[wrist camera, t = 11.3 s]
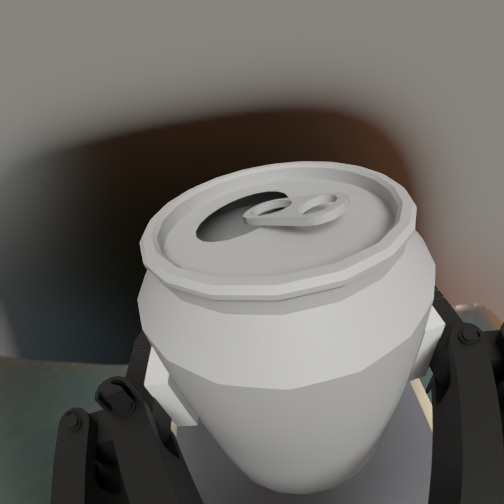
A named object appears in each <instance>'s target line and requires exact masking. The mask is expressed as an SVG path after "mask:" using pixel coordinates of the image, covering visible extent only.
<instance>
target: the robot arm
mask: <svg viewBox="0 0 504 504" xmlns="http://www.w3.org/2000/svg"><path fill="white" fill-rule="evenodd" d="M130 359H131V361H130V362H129V366H128V370H127V374H126V378H124V377H120V376H116V377H111V378H109V379H107V380H105V381H104V382H103V383H102V384H101V385H100V386H99V387H98V389H97V391H96V393H95V401H96V402H97V403H98V404H99V405H100V406H101V407H102V408H103V409H104V410H101V411H98V412H94V413H91V414H88V413H87V412H86V411H85V410H83V409H82V408H72V409H70V410H68V411H67V412H65V414H64V415H63V416H62V418H61V420H60V423H59V429H58V436H57V442H56V450H55V458H54V467H53V478H52V493H51V504H129V503H130V504H204V502H203V500H202V498H201V496H200V494H199V492H198V490H197V487H196V485H195V483H194V481H193V479H192V476H191V474H190V472H189V469H188V467H187V465H186V462H185V460H184V457H183V455H182V452H181V450H180V447H179V445H178V442H177V440H176V437H175V435H174V433H173V432H172V430H171V421H173V422H174V423H175V424H176V425H177V426H195V425H198V416H197V414H196V413H195V412H194V410H193V409H192V407H191V406H190V404H189V403H188V402H187V400H186V399H185V397H184V396H183V394H182V393H181V391H180V390H179V388H178V387H177V385H176V384H175V382H174V381H173V379H172V378H171V376H170V375H169V373H168V371H167V370H166V368H165V367H164V365H163V363H162V362H161V360H160V359H159V357H158V355H157V354H156V352H155V350H154V349H153V347H152V345H151V344H150V342H149V340H148V338H147V337H146V335H145V333H144V331H143V330H142V331H141V332H140V334H139V335H138V337H137V338H136V339H135V343H134V347H133V352H132V354H131V358H130ZM429 366H430V368H431V370H432V372H433V376H432V378H431V380H430V382H429V384H428V386H427V388H426V393H429V391H430V389H431V391H432V421H433V435H432V464H431V478H430V489H429V498H428V504H504V323H503V324H502V326H501V328H500V330H496V331H481V330H480V329H479V328H478V327H477V326H475V325H473V324H471V323H464V322H463V321H462V320H461V318H460V317H459V316H458V314H457V313H456V312H455V310H454V309H453V308H452V307H451V305H450V304H449V303H448V301H447V300H446V299H445V298H443V295H442V294H441V292H440V291H438V289H437V288H436V286H435V287H434V300H433V303H432V307H431V311H430V315H429V318H428V322H427V325H426V328H425V332H424V335H423V338H422V341H421V344H420V347H419V350H418V353H417V356H416V359H415V362H414V365H413V367H412V370H411V373H410V375H409V378H408V381H407V382H409V381H412V380H415V379H417V378H420V377H423V376H425V375H426V372H427V370H428V368H429Z"/></svg>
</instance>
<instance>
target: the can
mask: <svg viewBox="0 0 504 504" xmlns="http://www.w3.org/2000/svg"><path fill="white" fill-rule="evenodd" d="M416 209H417V207H416V205H415V204H414V202H413V200H412V199H411V197H410V196H409V194H408V193H407V191H406V190H405V189H404V188H403V187H402V186H401V185H399V184H398V183H396V182H395V181H393V180H392V179H390V178H389V177H387V176H385V175H384V174H381V173H378V172H375V171H372V170H369V169H366V168H363V167H360V166H354V165H348V164H342V163H335V162H312V161H311V162H310V161H308V162H307V161H306V162H305V161H301V162H289V163H279V164H270V165H265V166H259V167H254V168H249V169H244V170H241V171H237V172H234V173H230V174H227V175H224V176H221V177H217V178H215V179H212V180H210V181H208V182H205V183H203V184H201V185H199V186H196V187H194V188H192V189H189V190H188V191H186V192H184V193H183V194H181V195H180V196H178V197H177V198H175V199H173V200H172V201H170V202H169V203H167V204H166V205H165V206H164V207H163V208H162V209H161V210H160V211H159V212H158V213H157V214H156V215H155V216H154V217H153V218H152V219H151V220H150V222H149V224H148V225H147V228H146V230H145V232H144V234H143V236H142V238H141V241H140V247H141V253H142V258H143V263H144V265H145V267H146V268H147V269H148V270H147V272H146V274H145V277H144V281H143V284H142V287H141V290H140V293H139V296H138V306H139V312H140V318H141V323H142V329H143V331H144V333H145V335H146V337H147V338H148V340H149V342H150V344H151V345H152V347H153V349H154V350H155V352H156V354H157V355H158V357H159V359H160V360H161V362H162V363H163V365H164V367H165V368H166V370H167V371H168V373H169V375H170V376H171V378H172V379H173V381H174V382H175V384H176V385H177V387H178V388H179V390H180V391H181V393H182V394H183V396H184V397H185V399H186V400H187V402H188V403H189V404H190V406H191V407H192V409H193V410H194V412H195V413H196V414H197V416H198V417H199V419H200V420H201V421H202V423H203V424H204V425H205V427H206V428H207V429H208V431H209V432H210V433H211V435H212V436H213V437H214V439H215V440H216V441H217V442H218V444H219V445H220V446H221V448H222V449H223V450H224V451H225V453H226V454H227V455H228V456H229V457H230V459H231V460H232V461H233V462H234V464H235V465H236V466H237V467H238V468H239V469H240V470H241V471H242V472H243V473H244V474H246V475H247V476H248V477H249V478H250V479H251V480H252V481H253V482H255V483H257V484H259V485H261V486H264V487H266V488H268V489H271V490H273V491H276V492H279V493H290V494H305V495H306V494H311V493H315V492H319V491H323V490H327V489H331V488H334V487H336V486H338V485H339V484H341V483H343V482H344V481H346V480H348V479H349V478H351V477H353V476H354V475H356V474H357V473H358V472H359V471H360V470H361V468H362V467H363V466H364V465H365V464H366V463H367V461H368V460H369V459H370V458H371V457H372V455H373V454H374V452H375V450H376V448H377V447H378V445H379V443H380V441H381V439H382V437H383V435H384V433H385V431H386V429H387V427H388V425H389V422H390V420H391V418H392V416H393V414H394V412H395V409H396V407H397V405H398V402H399V400H400V398H401V395H402V393H403V391H404V388H405V386H406V383H407V381H408V378H409V375H410V373H411V370H412V367H413V365H414V362H415V359H416V356H417V353H418V350H419V347H420V344H421V341H422V338H423V335H424V332H425V328H426V325H427V322H428V318H429V315H430V311H431V307H432V303H433V300H434V287H435V263H434V261H433V259H432V257H431V255H430V253H429V251H428V248H427V247H426V245H425V242H424V240H423V239H422V237H421V236H420V235H419V234H418V233H417V231H416V230H415V221H416Z"/></svg>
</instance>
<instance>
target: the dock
mask: <svg viewBox="0 0 504 504" xmlns="http://www.w3.org/2000/svg"><path fill="white" fill-rule="evenodd" d="M171 430H172V432H173V433H174V435H175V437H176V440H177V442H178V445H179V447H180V450H181V452H182V455H183V457H184V460H185V462H186V465H187V467H188V469H189V472H190V474H191V476H192V479H193V481H194V483H195V485H196V487H197V490H198V492H199V494H200V496H201V498H202V500H203V502H204V504H428V498H429V489H430V478H431V464H432V435H433V421H432V405H431V402H430V400H429V398H428V396H427V394H426V392H425V390H424V388H423V386H422V384H421V382H420V380H419V378H417V379H415V380H412V381H409V382H407V383H406V386H405V388H404V391H403V393H402V395H401V398H400V400H399V402H398V405H397V407H396V409H395V412H394V414H393V416H392V418H391V420H390V422H389V425H388V427H387V429H386V431H385V433H384V435H383V437H382V439H381V441H380V443H379V445H378V447H377V448H376V450H375V452H374V454H373V455H372V457H371V458H370V459H369V460H368V461H367V463H366V464H365V465H364V466H363V467H362V468H361V470H360V471H359V472H358V473H357V474H356V475H354V476H353V477H351V478H349V479H348V480H346V481H344V482H343V483H341V484H339V485H338V486H336V487H334V488H331V489H327V490H323V491H319V492H315V493H311V494H306V495H305V494H290V493H279V492H276V491H273V490H271V489H268V488H266V487H264V486H261V485H259V484H257V483H255V482H253V481H252V480H251V479H250V478H249V477H248V476H247V475H246V474H244V473H243V472H242V471H241V470H240V469H239V468H238V467H237V466H236V465H235V464H234V462H233V461H232V460H231V459H230V457H229V456H228V455H227V454H226V453H225V451H224V450H223V449H222V448H221V446H220V445H219V444H218V442H217V441H216V440H215V439H214V437H213V436H212V435H211V433H210V432H209V431H208V429H207V428H206V427H205V425H204V424H203V423H202V421H201V420H200V419H199V417H198V425H195V426H177V425H176V424H175V423H174V422H173V421H171Z"/></svg>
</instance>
